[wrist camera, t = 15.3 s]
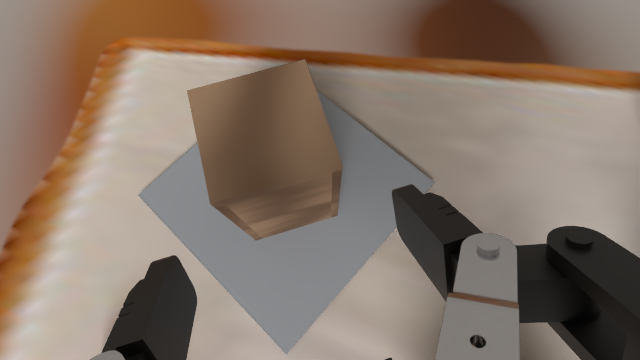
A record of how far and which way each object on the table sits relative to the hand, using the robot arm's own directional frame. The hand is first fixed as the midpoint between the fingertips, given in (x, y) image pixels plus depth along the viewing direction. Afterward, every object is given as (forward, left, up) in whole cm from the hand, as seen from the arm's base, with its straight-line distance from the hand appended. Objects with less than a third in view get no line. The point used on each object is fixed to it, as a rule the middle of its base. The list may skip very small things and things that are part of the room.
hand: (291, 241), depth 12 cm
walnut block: (-3, -5, -12) cm, 14 cm away
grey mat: (-3, -5, -12) cm, 14 cm away
